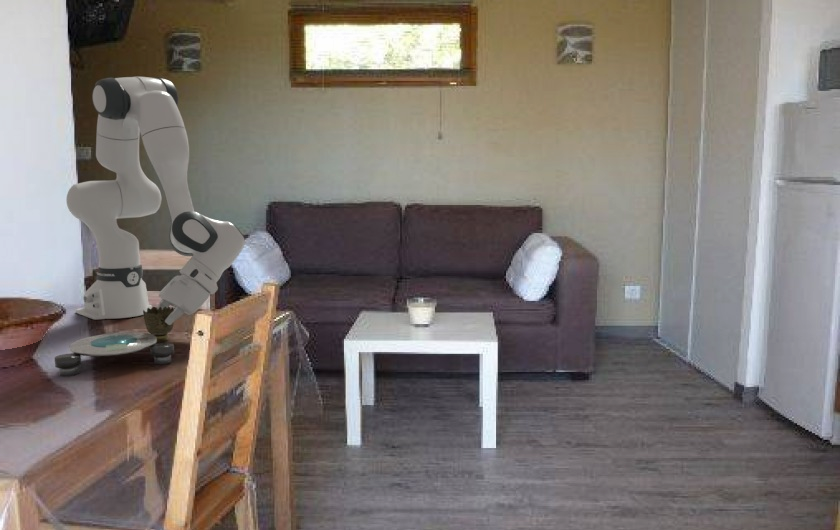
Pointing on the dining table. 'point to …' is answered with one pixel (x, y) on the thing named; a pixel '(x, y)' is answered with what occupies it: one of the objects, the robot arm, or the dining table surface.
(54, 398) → the dining table surface
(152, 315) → the cup
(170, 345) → the leveling base
